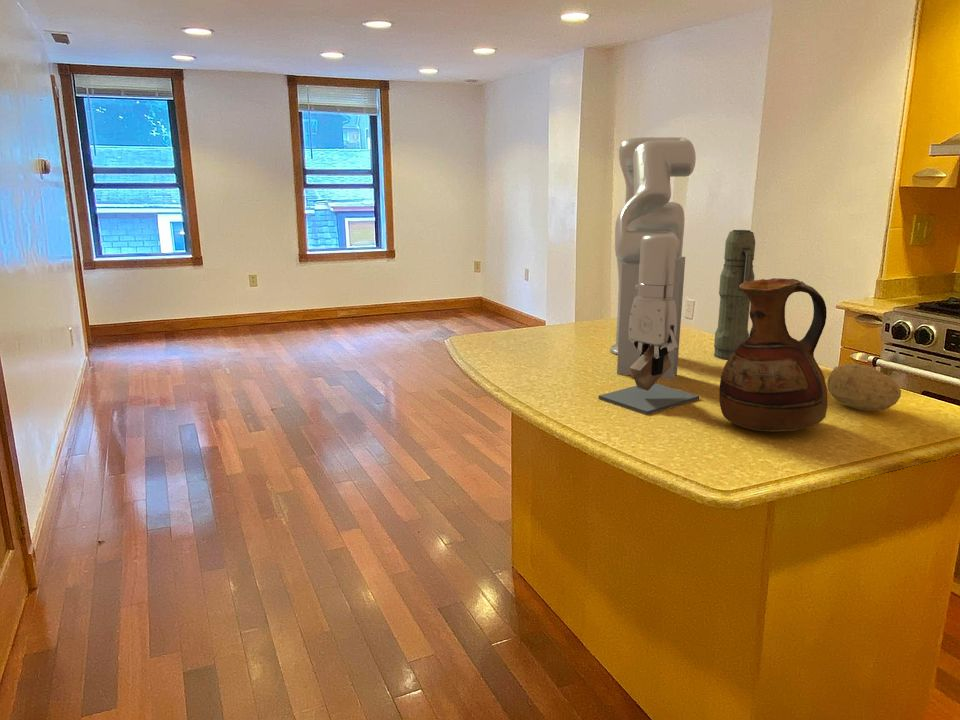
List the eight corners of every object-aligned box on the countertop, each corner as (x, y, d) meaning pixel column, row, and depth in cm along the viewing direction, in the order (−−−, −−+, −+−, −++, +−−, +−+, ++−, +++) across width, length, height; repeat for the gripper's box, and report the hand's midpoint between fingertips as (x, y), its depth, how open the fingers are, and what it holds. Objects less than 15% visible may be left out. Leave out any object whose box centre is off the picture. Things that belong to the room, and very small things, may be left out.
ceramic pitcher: (705, 409, 150) (716, 271, 143) (799, 409, 150) (815, 271, 142) (734, 442, 131) (749, 285, 124) (842, 443, 131) (864, 285, 123)
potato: (858, 397, 158) (864, 357, 155) (903, 418, 144) (910, 374, 141) (817, 399, 157) (822, 359, 154) (858, 420, 143) (865, 376, 140)
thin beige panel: (677, 374, 177) (685, 256, 169) (673, 380, 172) (681, 259, 164) (622, 368, 182) (627, 254, 175) (616, 373, 178) (622, 256, 170)
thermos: (732, 350, 201) (743, 228, 192) (756, 360, 190) (769, 231, 181) (704, 352, 199) (714, 229, 191) (727, 362, 188) (739, 232, 179)
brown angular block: (637, 387, 156) (629, 367, 153) (661, 362, 159) (653, 342, 156) (648, 390, 154) (640, 370, 150) (671, 365, 157) (664, 345, 154)
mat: (650, 385, 168) (650, 381, 167) (699, 399, 157) (699, 395, 157) (598, 398, 157) (598, 395, 157) (646, 415, 146) (647, 411, 146)
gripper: (615, 288, 155) (612, 368, 159) (675, 297, 142) (669, 383, 147) (638, 286, 159) (633, 363, 164) (697, 294, 147) (691, 378, 151)
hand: (650, 372), depth 155 cm, fingers closed on brown angular block, 2 cm apart
